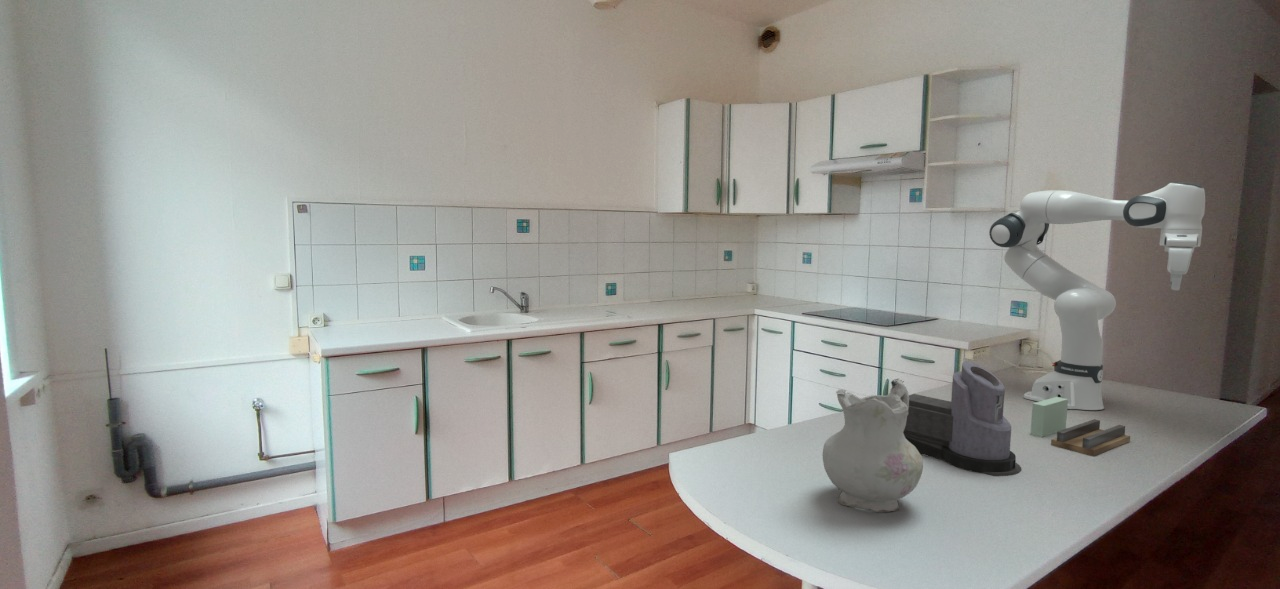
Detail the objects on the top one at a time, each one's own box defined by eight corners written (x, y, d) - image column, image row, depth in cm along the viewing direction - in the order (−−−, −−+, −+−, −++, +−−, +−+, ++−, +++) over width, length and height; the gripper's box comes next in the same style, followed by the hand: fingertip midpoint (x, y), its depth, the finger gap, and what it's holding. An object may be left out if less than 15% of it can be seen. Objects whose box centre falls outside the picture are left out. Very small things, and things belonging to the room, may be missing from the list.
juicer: (1031, 465, 152) (1039, 366, 150) (1004, 481, 142) (1012, 375, 140) (912, 434, 175) (917, 348, 173) (882, 446, 165) (886, 354, 163)
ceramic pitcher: (849, 478, 146) (845, 372, 145) (939, 494, 133) (935, 378, 132) (809, 509, 129) (804, 389, 128) (908, 531, 117) (903, 399, 115)
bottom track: (1050, 444, 168) (1052, 430, 167) (1088, 431, 179) (1089, 418, 179) (1093, 456, 159) (1095, 440, 159) (1129, 441, 171) (1131, 427, 171)
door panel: (1030, 434, 177) (1032, 403, 176) (1054, 426, 184) (1056, 396, 183) (1041, 437, 174) (1044, 405, 173) (1065, 429, 182) (1068, 399, 181)
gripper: (1164, 239, 186) (1159, 285, 188) (1166, 239, 170) (1161, 290, 172) (1192, 240, 182) (1186, 287, 184) (1197, 240, 166) (1191, 292, 168)
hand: (1174, 289), depth 178 cm, fingers open, 8 cm apart
